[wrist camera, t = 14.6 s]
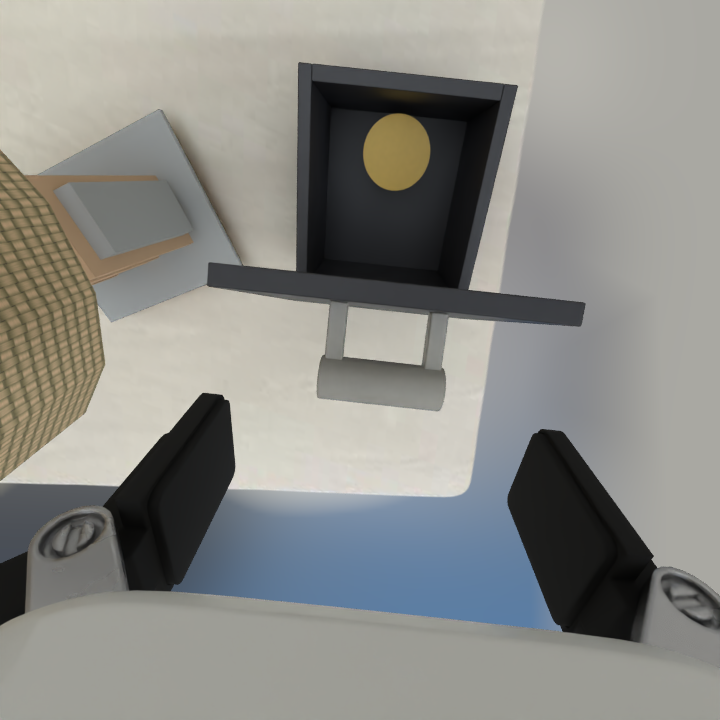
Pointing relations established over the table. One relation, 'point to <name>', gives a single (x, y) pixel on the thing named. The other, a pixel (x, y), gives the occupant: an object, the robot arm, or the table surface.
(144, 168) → the desk lamp
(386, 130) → the cylinder
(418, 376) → the lid
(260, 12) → the table surface
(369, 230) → the dark grey hollow box
